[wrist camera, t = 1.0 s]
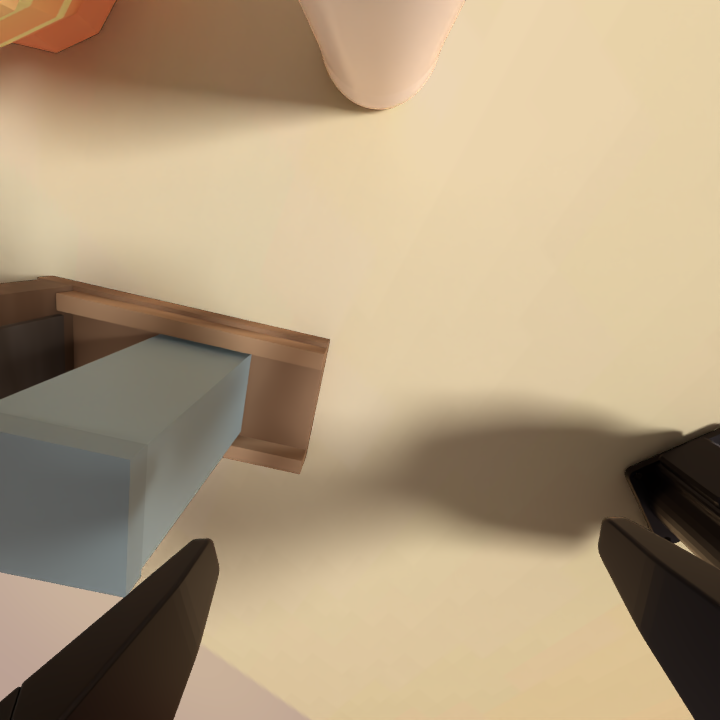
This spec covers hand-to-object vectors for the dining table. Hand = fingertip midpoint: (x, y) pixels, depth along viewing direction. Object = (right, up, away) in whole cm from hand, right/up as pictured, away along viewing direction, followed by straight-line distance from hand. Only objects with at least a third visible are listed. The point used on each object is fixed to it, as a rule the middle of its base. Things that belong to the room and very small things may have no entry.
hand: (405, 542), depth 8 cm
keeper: (-10, +3, +12) cm, 16 cm away
